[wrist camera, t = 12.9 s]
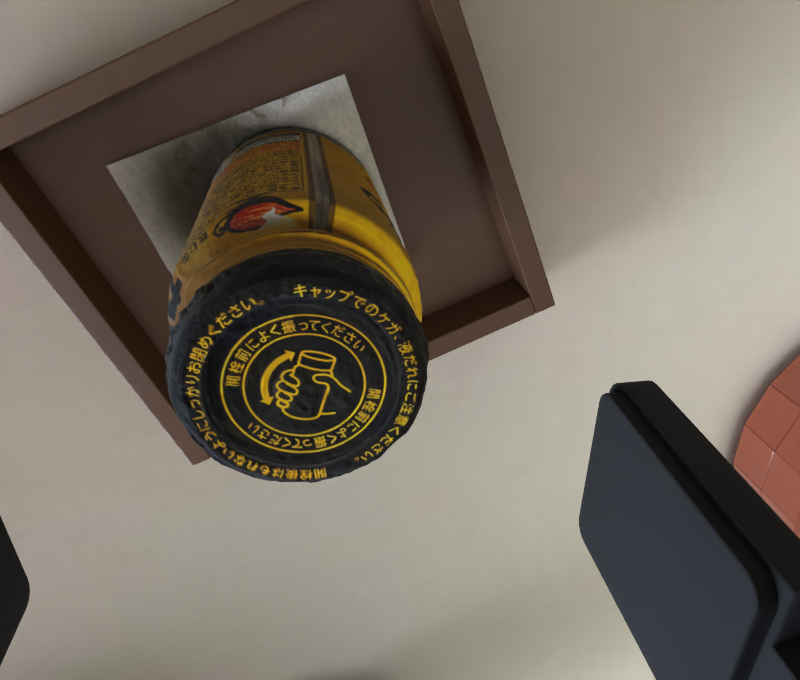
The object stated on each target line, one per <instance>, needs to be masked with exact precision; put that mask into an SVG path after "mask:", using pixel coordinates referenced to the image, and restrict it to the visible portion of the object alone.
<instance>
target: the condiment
mask: <svg viewBox="0 0 800 680" xmlns="http://www.w3.org/2000/svg"><path fill="white" fill-rule="evenodd" d="M106 167H107V168H108V170H109V172H110V173H111V175H112V176H113V178H114V180H115V182H116V183H117V185H118V186H119V188H120V189H121V191H122V192H123V194H124V195H125V197H126V199H127V201H128V202H129V204H130V206H131V207H132V209H133V211H134V212H135V214H136V216H137V217H138V219H139V221H140V223H141V224H142V226H143V228H144V229H145V231H146V233H147V234H148V236H149V237H150V239H151V241H152V242H153V244H154V246H155V248H156V250H157V251H158V253H159V255H160V257H161V258H162V260H163V262H164V264H165V265H166V267H167V269H168V270H169V271H170V272H171V274H172V281H171V284H170V289H169V297H168V299H169V300H168V320H169V330H170V332H171V334H170V336H169V345H168V347H167V349H166V352H165V363H166V365H167V371H166V376H165V377H166V380H167V383H168V392H169V396H170V400H171V401H172V403H173V406H174V409H175V411H176V413H177V416H178V418H179V419H180V421H181V422H182V424H183V425H184V427H185V428H186V429H187V432H188V434H189V435H190V437H191V438H192V439H193V440H194V441H195V442H196V443H197V444H198V445H199V446H200V447H201V448H202V449H203V450H204V451H205V452H207V453H208V454H209V455H210V456H211V457H212V458H213V459H214V460H216V461H218V462H219V463H220V464H221V465H224V466H227V467H229V468H232V469H234V470H236V471H239V472H241V473H243V474H246V475H249V476H251V477H254V478H258V479H262V480H268V481H279V482H310V483H312V482H318V481H321V480H325V479H330V478H333V477H337V476H341V475H343V474H346V473H350V472H352V471H353V470H355V469H358V468H360V467H362V466H365V465H367V464H369V463H370V462H372V461H374V460H377V459H378V458H380V457H381V456H382V455H383V454H384V452H385V451H386V450H387V449H388V448H389V447H390V446H391V445H392V444H393V443H394V442H395V441H397V440H398V439H399V438H400V437H402V436H403V435H404V434H406V433H407V431H408V430H409V429H410V427H411V425H412V424H413V422H414V420H415V418H416V416H417V414H418V411H419V409H420V407H421V403H422V399H423V395H424V391H425V386H426V381H427V365H428V360H429V356H430V355H429V348H428V343H427V340H426V338H425V335H424V332H423V327H422V323H421V322H422V303H421V297H420V290H419V285H418V279H417V275H416V271H415V269H414V267H413V265H412V262H411V259H410V256H409V254H408V251H407V250H406V248H405V245H404V243H403V240H402V236H401V234H400V231H399V228H398V225H397V223H396V220H395V217H394V214H393V211H392V209H391V206H390V203H389V200H388V197H387V194H386V191H385V188H384V186H383V183H382V180H381V177H380V174H379V171H378V169H377V166H376V163H375V160H374V157H373V154H372V151H371V149H370V146H369V143H368V140H367V137H366V134H365V131H364V128H363V125H362V123H361V120H360V117H359V114H358V111H357V108H356V105H355V102H354V100H353V97H352V94H351V91H350V88H349V85H348V82H347V80H346V77H345V74H343V75H341V76H338V77H335V78H333V79H330V80H328V81H325V82H322V83H320V84H317V85H314V86H312V87H309V88H306V89H304V90H301V91H298V92H296V93H293V94H291V95H288V96H286V97H284V98H281V99H278V100H275V101H272V102H270V103H267V104H265V105H262V106H259V107H256V108H254V109H252V110H249V111H247V112H244V113H241V114H239V115H236V116H234V117H231V118H229V119H226V120H223V121H221V122H218V123H216V124H213V125H211V126H209V127H206V128H204V129H201V130H199V131H196V132H193V133H190V134H187V135H185V136H182V137H179V138H177V139H174V140H172V141H169V142H166V143H163V144H161V145H158V146H156V147H154V148H151V149H149V150H146V151H144V152H141V153H139V154H136V155H134V156H131V157H128V158H126V159H123V160H120V161H118V162H115V163H113V164H110V165H107V166H106Z"/></svg>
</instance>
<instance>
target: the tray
mask: <svg viewBox="0 0 800 680" xmlns="http://www.w3.org/2000/svg"><path fill="white" fill-rule="evenodd" d="M343 74H345V77H346V80H347V82H348V85H349V88H350V91H351V94H352V97H353V100H354V102H355V105H356V108H357V111H358V114H359V117H360V120H361V123H362V125H363V128H364V131H365V134H366V137H367V140H368V143H369V146H370V149H371V151H372V154H373V157H374V160H375V163H376V166H377V169H378V171H379V174H380V177H381V180H382V183H383V186H384V188H385V191H386V194H387V197H388V200H389V203H390V206H391V209H392V211H393V214H394V217H395V220H396V223H397V225H398V228H399V231H400V234H401V236H402V240H403V243H404V245H405V248H406V250H407V251H408V254H409V256H410V259H411V262H412V265H413V267H414V269H415V271H416V275H417V279H418V285H419V290H420V297H421V303H422V322H421V323H422V327H423V332H424V335H425V338H426V340H427V343H428V348H429V355H430V356H429V360H432V359H434V358H436V357H438V356H441V355H443V354H445V353H447V352H450V351H452V350H454V349H456V348H459V347H461V346H463V345H465V344H468V343H470V342H472V341H475V340H477V339H479V338H481V337H484V336H486V335H488V334H490V333H493V332H495V331H497V330H499V329H502V328H504V327H506V326H508V325H511V324H513V323H515V322H517V321H520V320H522V319H524V318H526V317H529V316H531V315H533V314H535V312H536V313H538V312H540V311H542V310H545V309H547V308H549V307H551V306H554V305H555V303H554V300H553V296H552V293H551V290H550V287H549V284H548V281H547V278H546V274H545V271H544V268H543V265H542V262H541V259H540V255H539V252H538V249H537V246H536V243H535V240H534V237H533V233H532V230H531V227H530V224H529V221H528V218H527V215H526V211H525V208H524V205H523V202H522V199H521V196H520V192H519V189H518V186H517V183H516V180H515V177H514V174H513V170H512V167H511V164H510V161H509V158H508V155H507V152H506V148H505V145H504V142H503V139H502V136H501V133H500V130H499V126H498V123H497V120H496V117H495V114H494V111H493V107H492V104H491V101H490V98H489V95H488V92H487V89H486V85H485V82H484V79H483V76H482V73H481V70H480V67H479V63H478V60H477V57H476V54H475V51H474V48H473V44H472V41H471V38H470V35H469V32H468V29H467V26H466V22H465V19H464V16H463V13H462V10H461V7H460V4H459V0H236V1H234V2H232V3H230V4H228V5H226V6H224V7H222V8H220V9H218V10H216V11H214V12H211V13H209V14H207V15H205V16H203V17H201V18H199V19H197V20H195V21H193V22H191V23H189V24H187V25H185V26H183V27H181V28H179V29H177V30H175V31H173V32H170V33H168V34H166V35H164V36H162V37H160V38H158V39H156V40H154V41H152V42H150V43H148V44H146V45H144V46H142V47H140V48H138V49H136V50H134V51H131V52H129V53H127V54H125V55H123V56H121V57H119V58H117V59H115V60H113V61H111V62H109V63H107V64H105V65H103V66H101V67H99V68H97V69H95V70H93V71H90V72H88V73H86V74H84V75H82V76H80V77H78V78H76V79H74V80H72V81H70V82H68V83H66V84H64V85H62V86H60V87H58V88H56V89H54V90H52V91H49V92H47V93H45V94H43V95H41V96H39V97H37V98H35V99H33V100H31V101H29V102H27V103H25V104H23V105H21V106H19V107H17V108H15V109H13V110H11V111H8V112H6V113H4V114H2V115H0V222H1V223H2V224H3V226H4V227H5V228H6V229H7V231H8V232H9V233H10V234H11V236H12V237H13V238H14V240H15V241H16V242H17V243H18V245H19V246H20V247H21V248H22V250H23V251H24V252H25V253H26V255H27V256H28V257H29V258H30V260H31V261H32V262H33V264H34V265H35V266H36V267H37V269H38V270H39V271H40V272H41V274H42V275H43V276H44V277H45V279H46V280H47V281H48V283H49V284H50V285H51V286H52V288H53V289H54V290H55V291H56V293H57V294H58V295H59V296H60V298H61V299H62V300H63V301H64V303H65V304H66V305H67V307H68V308H69V309H70V310H71V312H72V313H73V314H74V315H75V317H76V318H77V319H78V320H79V322H80V323H81V324H82V325H83V327H84V328H85V329H86V331H87V332H88V333H89V334H90V336H91V337H92V338H93V339H94V341H95V342H96V343H97V344H98V346H99V347H100V348H101V350H102V351H103V352H104V353H105V355H106V356H107V357H108V358H109V360H110V361H111V362H112V363H113V365H114V366H115V367H116V368H117V370H118V371H119V372H120V374H121V375H122V376H123V377H124V379H125V380H126V381H127V382H128V384H129V385H130V386H131V387H132V389H133V390H134V391H135V393H136V394H137V395H138V396H139V398H140V399H141V400H142V401H143V403H144V404H145V405H146V406H147V408H148V409H149V410H150V411H151V413H152V414H153V415H154V417H155V418H156V419H157V420H158V422H159V423H160V424H161V425H162V427H163V428H164V429H165V430H166V432H167V433H168V434H169V435H170V437H171V438H172V439H173V441H174V442H175V443H176V444H177V446H178V447H179V448H180V449H181V451H182V452H183V453H184V454H185V456H186V457H187V458H188V460H189V461H190V462H191V463H192V465H195V464H197V463H200V462H202V461H204V460H206V459H209V458H210V457H211V456H210V455H209V454H208V453H207V452H205V451H204V450H203V449H202V448H201V447H200V446H199V445H198V444H197V443H196V442H195V441H194V440H193V439H192V438H191V437H190V435H189V434H188V432H187V429H186V428H185V427H184V425H183V424H182V422H181V421H180V419H179V418H178V416H177V413H176V411H175V409H174V406H173V403H172V401H171V400H170V396H169V392H168V383H167V380H166V377H165V376H166V371H167V365H166V363H165V352H166V349H167V347H168V345H169V336H170V334H171V332H170V330H169V320H168V300H169V299H168V297H169V289H170V284H171V281H172V274H171V272H170V271H169V270H168V269H167V267H166V265H165V264H164V262H163V260H162V258H161V257H160V255H159V253H158V251H157V250H156V248H155V246H154V244H153V242H152V241H151V239H150V237H149V236H148V234H147V233H146V231H145V229H144V228H143V226H142V224H141V223H140V221H139V219H138V217H137V216H136V214H135V212H134V211H133V209H132V207H131V206H130V204H129V202H128V201H127V199H126V197H125V195H124V194H123V192H122V191H121V189H120V188H119V186H118V185H117V183H116V182H115V180H114V178H113V176H112V175H111V173H110V172H109V170H108V168H107V167H106V166H107V165H110V164H113V163H115V162H118V161H120V160H123V159H126V158H128V157H131V156H134V155H136V154H139V153H141V152H144V151H146V150H149V149H151V148H154V147H156V146H158V145H161V144H163V143H166V142H169V141H172V140H174V139H177V138H179V137H182V136H185V135H187V134H190V133H193V132H196V131H199V130H201V129H204V128H206V127H209V126H211V125H213V124H216V123H218V122H221V121H223V120H226V119H229V118H231V117H234V116H236V115H239V114H241V113H244V112H247V111H249V110H252V109H254V108H256V107H259V106H262V105H265V104H267V103H270V102H272V101H275V100H278V99H281V98H284V97H286V96H288V95H291V94H293V93H296V92H298V91H301V90H304V89H306V88H309V87H312V86H314V85H317V84H320V83H322V82H325V81H328V80H330V79H333V78H335V77H338V76H341V75H343ZM429 360H428V361H429Z"/></svg>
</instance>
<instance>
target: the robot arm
mask: <svg viewBox="0 0 800 680" xmlns="http://www.w3.org/2000/svg"><path fill="white" fill-rule="evenodd" d="M579 527H580V532H581V535H582V538H583V541H584V543H585V545H586V547H587V549H588V550H589V552H590V554H591V556H592V558H593V560H594V562H595V564H596V566H597V568H598V570H599V571H600V573H601V575H602V577H603V579H604V581H605V583H606V585H607V587H608V589H609V591H610V592H611V594H612V596H613V598H614V600H615V602H616V604H617V606H618V608H619V610H620V612H621V613H622V615H623V617H624V619H625V621H626V623H627V625H628V627H629V629H630V631H631V633H632V634H633V636H634V638H635V640H636V642H637V644H638V646H639V648H640V650H641V652H642V654H643V656H644V657H645V659H646V661H647V663H648V665H649V667H650V669H651V671H652V673H653V675H654V677H655V678H656V680H800V539H799V538H798V536H797V535H796V534H795V533H794V532H793V531H792V530H791V529H790V528H789V527H788V526H787V525H786V523H785V522H784V521H783V520H782V519H781V518H780V517H779V516H778V515H777V514H776V513H775V512H774V511H773V509H772V508H771V507H770V506H769V505H768V504H767V503H766V502H765V501H764V500H763V499H762V498H761V497H760V495H759V494H758V493H757V492H756V491H755V490H754V489H753V488H752V487H751V486H750V485H749V484H748V482H747V481H746V480H745V479H744V478H743V477H742V476H741V475H740V474H739V473H738V472H737V471H736V470H735V468H734V467H733V466H732V465H731V464H730V463H729V462H728V461H727V460H726V459H725V458H724V457H723V455H722V454H721V453H720V452H719V451H718V450H717V449H716V448H715V447H714V446H713V445H712V444H711V443H710V441H709V440H708V439H707V438H706V437H705V436H704V435H703V434H702V433H701V432H700V431H699V430H698V429H697V427H696V426H695V425H694V424H693V423H692V422H691V421H690V420H689V419H688V418H687V417H686V416H685V414H684V413H683V412H682V411H681V410H680V409H679V408H678V407H677V406H676V405H675V404H674V403H673V402H672V400H671V399H670V398H669V397H668V396H667V395H666V394H665V393H664V392H663V391H662V390H661V389H660V387H659V386H658V385H657V384H655V383H654V382H653V381H637V382H626V383H616V384H614V385H613V386H612V388H611V389H610V392H609V393H605V394H603V395H602V397H601V399H600V402H599V408H598V413H597V419H596V425H595V430H594V436H593V442H592V447H591V453H590V459H589V464H588V470H587V476H586V481H585V487H584V493H583V498H582V504H581V510H580V515H579ZM29 593H30V588H29V582H28V579H27V576H26V574H25V572H24V569H23V567H22V565H21V562H20V560H19V558H18V556H17V553H16V551H15V549H14V546H13V544H12V542H11V539H10V537H9V535H8V533H7V530H6V528H5V526H4V523H3V521H2V519H1V516H0V665H1V663H2V661H3V659H4V656H5V654H6V652H7V650H8V647H9V645H10V643H11V641H12V639H13V636H14V634H15V632H16V630H17V627H18V625H19V623H20V621H21V619H22V616H23V614H24V612H25V610H26V607H27V604H28V601H29Z"/></svg>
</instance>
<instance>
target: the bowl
mask: <svg viewBox="0 0 800 680" xmlns="http://www.w3.org/2000/svg"><path fill="white" fill-rule="evenodd" d="M733 466H734V468H735V470H736V471H737V472H738V473H739V474H740V475H741V476H742V477H743V478H744V479H745V480H746V481H747V482H748V484H749V485H750V486H751V487H752V488H753V489H754V490H755V491H756V492H757V493H758V494H759V495H760V497H761V498H762V499H763V500H764V501H765V502H766V503H767V504H768V505H769V506H770V507H771V508H772V509H773V511H774V512H775V513H776V514H777V515H778V516H779V517H780V518H781V519H782V520H783V521H784V522H785V523H786V525H787V526H788V527H789V528H790V529H791V530H792V531H793V532H794V533H795V534H796V535H797V536H798V538H799V539H800V355H799V356H798V357H797V358H796V359H795V360H794V361H793V362H792V363H791V364H790V365H789V366H788V367H787V368H786V369H785V370H784V371H783V372H782V373H781V374H780V375H779V376H778V377H777V378H776V379H775V380H774V381H772V382H771V385H769V387H768V388H767V390H766V392H765V393H764V395H763V396H762V398H761V399H760V401H759V402H758V404H757V405H756V407H755V409H754V410H753V412H752V413H751V415H750V416H749V418H748V419H747V421H746V424H745V425H744V428H743V431H742V434H741V437H740V441H739V444H738V447H737V450H736V454H735V457H734V462H733Z"/></svg>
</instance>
